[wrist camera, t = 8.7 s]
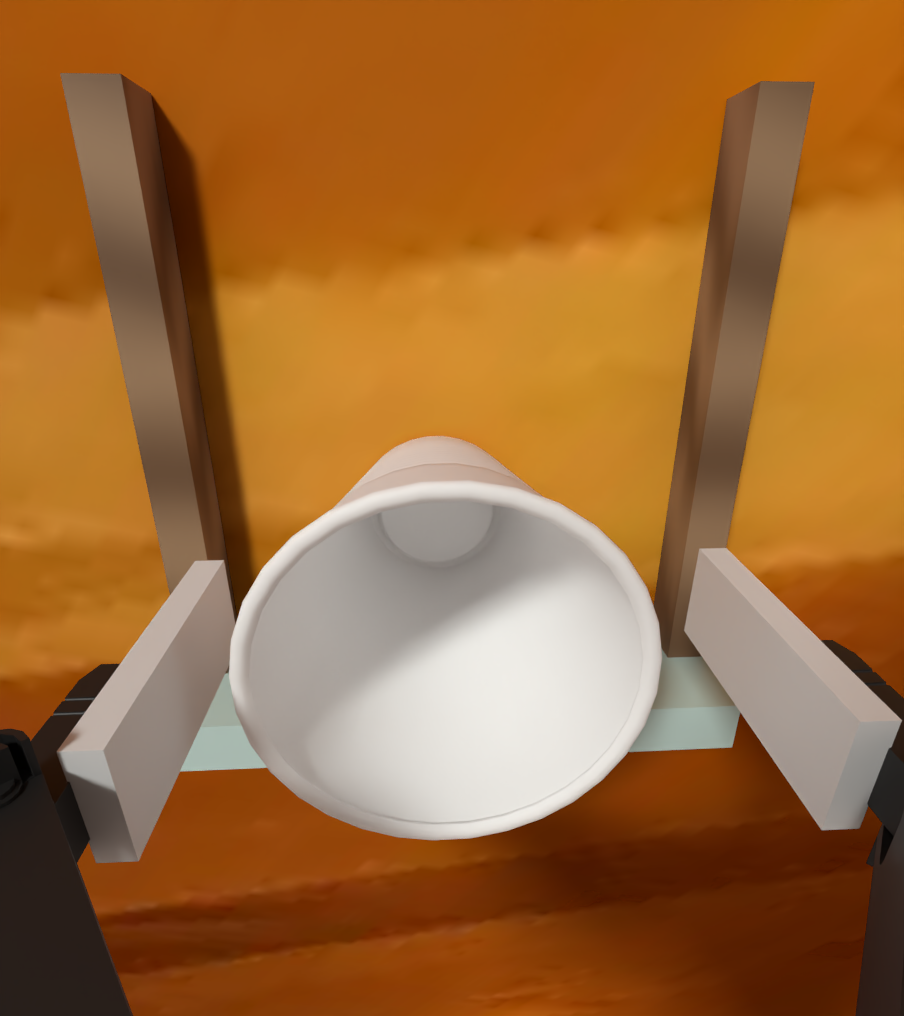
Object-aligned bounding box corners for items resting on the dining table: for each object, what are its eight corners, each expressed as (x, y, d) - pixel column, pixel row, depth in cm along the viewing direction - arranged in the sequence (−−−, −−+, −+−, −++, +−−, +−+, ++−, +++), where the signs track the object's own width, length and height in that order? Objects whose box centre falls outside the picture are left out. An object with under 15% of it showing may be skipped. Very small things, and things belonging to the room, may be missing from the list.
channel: (97, 93, 18) (59, 73, 16) (775, 99, 19) (814, 82, 17) (210, 683, 26) (195, 714, 24) (678, 666, 27) (697, 694, 25)
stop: (203, 645, 25) (156, 729, 21) (685, 629, 26) (741, 705, 22) (210, 683, 26) (166, 771, 22) (678, 666, 27) (732, 747, 23)
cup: (485, 646, 26) (528, 885, 16) (273, 559, 24) (167, 770, 14) (606, 454, 23) (752, 598, 13) (374, 335, 21) (333, 396, 11)
